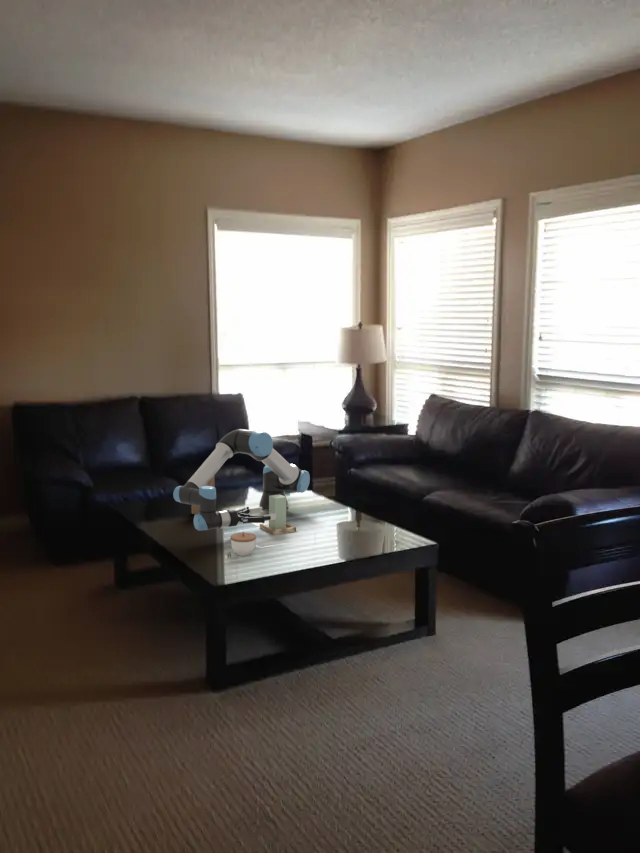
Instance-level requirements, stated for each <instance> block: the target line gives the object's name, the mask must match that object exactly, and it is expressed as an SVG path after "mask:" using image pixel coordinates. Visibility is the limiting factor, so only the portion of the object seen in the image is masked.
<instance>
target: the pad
mask: <svg viewBox="0 0 640 853" xmlns="http://www.w3.org/2000/svg"><path fill="white" fill-rule="evenodd" d="M251 524H252V525H254V526H256V527H260V524H264V525H266V526H269V521H265V523H251Z"/></svg>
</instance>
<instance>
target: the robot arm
mask: <svg viewBox="0 0 640 853" xmlns="http://www.w3.org/2000/svg"><path fill="white" fill-rule="evenodd" d="M235 454H245V455H248V456H250V457H252V458H253V459H254V460H256V461H258V462H262V463H263V464H264V465H265V466H264V467H263V470H262V495H261V498H260V501H259V507H258V506H257V507H250V506H246V507H243V508H239V509H227V510H225V509H224V510H220V511H217V488H216V487H213V486H205V485H206V484H207V483H208V482H209V481H210V479H211V478H212V477H213V476H214V475H216V474H217V472H218V471H219V470H221V467H223V465H224V464H225V462H226V461H227V460H228V459H231V458H233V457H234V455H235ZM310 481H311V477H310V473H309V471H307V470H305V469H304V470H302V469H300V468H299V467H298V466H297V465H296V464H293V463H289V461H287V460H286V459H285V457H284V456H282V455H281V454H280V453H279V452H278V451H277V450H276V449H274V442H273V438H272V436H271V435H270V434H269V433H268V432H266V431H263V430H251V429H244V428H237V429H235V430H232V431H230V432H228V433H226V434H225V435H224V436H223V437H221V438H220V440H219V441H218V442H217V443H216V444H215V448H214V450H213V451H212V452H211V453H210V455H208V457H207V458H206V459H205V460H204V461H203V462H202V464H201V465H200V466H199V467H198V469H197V470H196V471H195V472H194V473H193V474H192V476H191V477H190V478H189V479H187V481H186V483H185V484H184V485H178V486H176V487H175V488H174V490H173V494H172V496H173V499H174V501H175V502H178V503H180V504H186V505H195V506H199V514H196V515H193V516H194V517H193V521H192V522H193V526H194V528H195V530H197V531H208V530H214V529H215V530H217V529H221V530H223V529H224V528H227V527H228V528H229V527H231V528H232V527H236V526H238V523H239V522H240V523H242V524H252V523H265V521H269V520H276V513H275V514H269V513H268V514H262V513H263V510H265V509H269V496H271V495H279V494H280V495H283V496H285V497H286V507H287V506H288V507H289V503H288V499H287V495H286V492H285V491H288V492H294V493H304V492H306V491H307V489H308V488H309V486H310ZM254 514H255V515H254ZM256 514H257V515H256ZM258 514H262V515H258Z"/></svg>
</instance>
